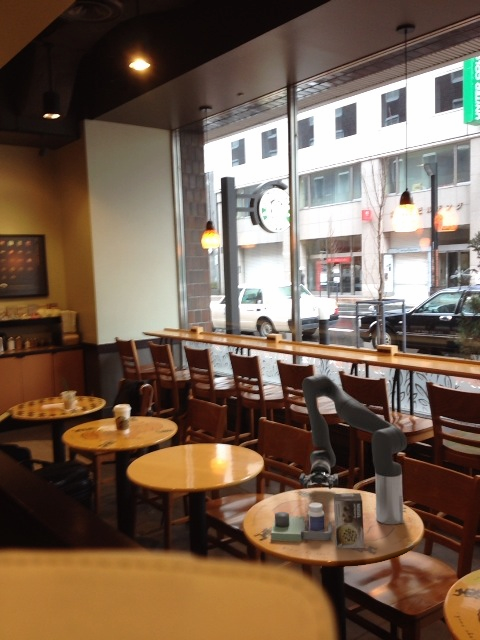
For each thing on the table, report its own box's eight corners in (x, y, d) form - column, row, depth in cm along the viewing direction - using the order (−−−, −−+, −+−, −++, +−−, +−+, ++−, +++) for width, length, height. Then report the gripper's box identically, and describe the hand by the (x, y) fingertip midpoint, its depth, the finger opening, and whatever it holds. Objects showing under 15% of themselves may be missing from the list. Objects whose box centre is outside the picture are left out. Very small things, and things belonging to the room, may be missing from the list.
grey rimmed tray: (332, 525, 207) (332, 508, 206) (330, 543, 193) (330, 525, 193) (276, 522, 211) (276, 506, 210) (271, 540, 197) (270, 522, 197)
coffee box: (362, 539, 195) (361, 492, 193) (364, 548, 188) (363, 500, 187) (334, 539, 195) (333, 492, 194) (335, 548, 189) (334, 500, 188)
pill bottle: (328, 533, 200) (327, 505, 200) (315, 538, 197) (315, 509, 196) (317, 528, 205) (316, 500, 204) (304, 532, 202) (303, 504, 201)
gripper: (301, 462, 229) (297, 475, 213) (338, 462, 227) (337, 476, 211) (302, 480, 230) (298, 495, 214) (339, 481, 227) (338, 496, 211)
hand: (317, 486), depth 212 cm, fingers open, 8 cm apart
